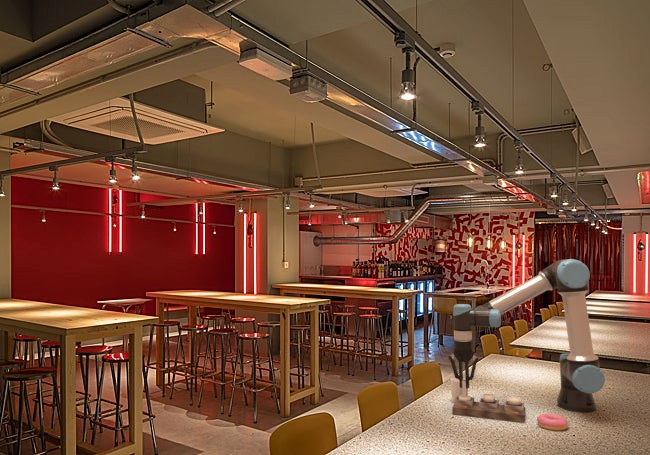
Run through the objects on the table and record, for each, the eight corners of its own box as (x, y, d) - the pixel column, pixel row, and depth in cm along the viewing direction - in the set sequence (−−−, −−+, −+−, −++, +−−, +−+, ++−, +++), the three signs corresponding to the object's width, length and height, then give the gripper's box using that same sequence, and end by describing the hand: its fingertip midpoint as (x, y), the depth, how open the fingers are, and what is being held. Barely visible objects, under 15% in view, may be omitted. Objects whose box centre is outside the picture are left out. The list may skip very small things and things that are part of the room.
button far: (471, 400, 210) (471, 395, 210) (469, 403, 205) (469, 398, 205) (459, 399, 212) (459, 394, 212) (457, 402, 207) (457, 397, 207)
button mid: (495, 399, 206) (495, 394, 206) (494, 402, 201) (494, 397, 201) (483, 398, 208) (483, 393, 208) (482, 401, 203) (481, 396, 203)
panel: (525, 414, 202) (525, 402, 203) (524, 423, 192) (524, 410, 192) (457, 406, 214) (456, 394, 214) (452, 414, 203) (452, 402, 203)
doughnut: (566, 434, 180) (566, 422, 180) (534, 428, 186) (534, 417, 186) (569, 425, 189) (569, 414, 190) (539, 420, 195) (538, 410, 195)
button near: (521, 402, 202) (520, 397, 202) (520, 405, 197) (520, 400, 197) (508, 400, 204) (508, 396, 204) (507, 404, 199) (507, 399, 199)
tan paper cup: (469, 404, 217) (469, 381, 217) (451, 403, 218) (450, 381, 219) (468, 399, 224) (467, 377, 225) (450, 398, 226) (449, 377, 226)
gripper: (479, 339, 211) (481, 395, 209) (449, 338, 216) (450, 392, 215) (477, 342, 204) (479, 399, 202) (446, 340, 209) (447, 396, 208)
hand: (464, 395), depth 209 cm, fingers closed
